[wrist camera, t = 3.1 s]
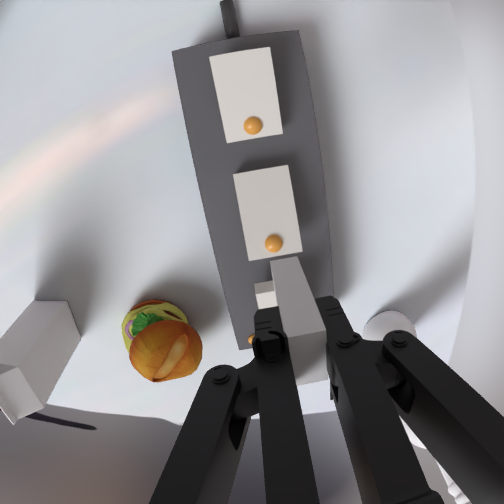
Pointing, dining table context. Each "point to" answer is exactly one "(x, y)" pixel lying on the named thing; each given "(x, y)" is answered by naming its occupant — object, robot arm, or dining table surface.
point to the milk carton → (35, 356)
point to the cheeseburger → (161, 341)
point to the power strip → (255, 166)
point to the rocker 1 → (247, 94)
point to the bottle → (376, 332)
